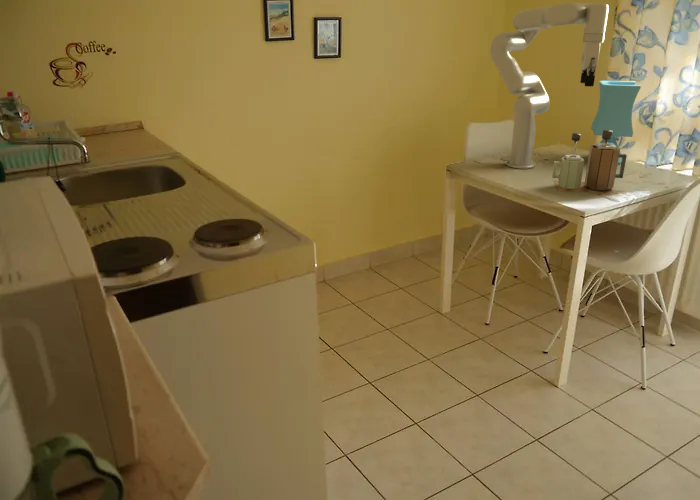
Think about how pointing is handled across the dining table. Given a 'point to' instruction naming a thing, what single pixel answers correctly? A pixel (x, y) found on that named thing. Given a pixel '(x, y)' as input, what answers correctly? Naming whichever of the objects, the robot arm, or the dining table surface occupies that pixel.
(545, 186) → the dining table surface
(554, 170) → the green press
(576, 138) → the green press plunger
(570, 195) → the dining table surface
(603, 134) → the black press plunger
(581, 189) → the walnut board
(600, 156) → the brown coffee press
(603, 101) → the planter
